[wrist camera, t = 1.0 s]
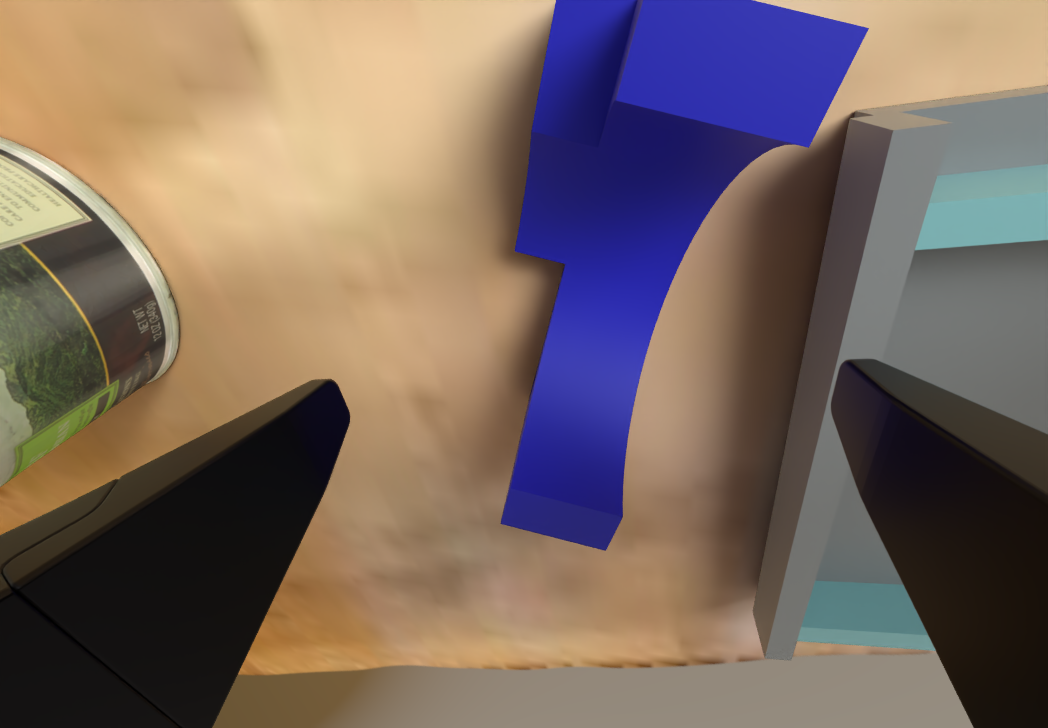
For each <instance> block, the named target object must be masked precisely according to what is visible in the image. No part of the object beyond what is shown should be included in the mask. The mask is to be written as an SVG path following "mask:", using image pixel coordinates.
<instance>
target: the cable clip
mask: <svg viewBox="0 0 1048 728" xmlns="http://www.w3.org/2000/svg"><path fill="white" fill-rule="evenodd" d="M868 29H869V28H865V27H861V26H857V25H853V24H849V23H845V22H840V21H836V20H832V19H828V18H824V17H820V16H815V15H811V14H807V13H803V12H799V11H795V10H790V9H786V8H782V7H778V6H774V5H770V4H766V3H761V2H757V1H753V0H556V4H555V9H554V14H553V20H552V25H551V30H550V36H549V41H548V46H547V51H546V57H545V62H544V67H543V73H542V78H541V83H540V89H539V94H538V99H537V104H536V110H535V115H534V120H533V126H532V131H531V144H530V155H529V164H528V172H527V180H526V187H525V194H524V201H523V207H522V213H521V219H520V225H519V230H518V236H517V241H516V246H515V252H519V253H523V254H527V255H531V256H535V257H539V258H543V259H547V260H551V261H555V262H559V263H563V264H565V265H564V269H563V273H562V276H561V280H560V284H559V288H558V292H557V295H556V299H555V303H554V307H553V311H552V314H551V318H550V322H549V326H548V330H547V333H546V337H545V341H544V345H543V348H542V352H541V356H540V360H539V364H538V367H537V371H536V375H535V379H534V383H533V386H532V390H531V394H530V398H529V402H528V406H527V411H526V415H525V419H524V424H523V428H522V432H521V437H520V441H519V446H518V450H517V454H516V459H515V463H514V467H513V472H512V476H511V480H510V485H509V489H508V493H507V498H506V502H505V506H504V511H503V515H502V519H501V524H504V525H507V526H511V527H515V528H519V529H523V530H527V531H531V532H535V533H539V534H542V535H546V536H550V537H554V538H558V539H562V540H566V541H570V542H574V543H578V544H581V545H585V546H589V547H593V548H597V549H601V550H605V551H606V549H607V547H608V545H609V543H610V541H611V539H612V537H613V535H614V533H615V531H616V529H617V527H618V525H619V523H620V521H621V519H622V517H623V479H624V466H625V456H626V448H627V440H628V434H629V427H630V421H631V416H632V411H633V405H634V401H635V396H636V391H637V387H638V383H639V379H640V375H641V371H642V367H643V363H644V360H645V356H646V353H647V349H648V346H649V343H650V340H651V336H652V333H653V330H654V327H655V324H656V321H657V319H658V316H659V313H660V310H661V308H662V305H663V302H664V300H665V297H666V295H667V292H668V290H669V287H670V285H671V283H672V280H673V278H674V276H675V274H676V271H677V269H678V267H679V265H680V263H681V261H682V259H683V257H684V254H685V252H686V250H687V249H688V247H689V245H690V243H691V241H692V239H693V237H694V235H695V234H696V232H697V230H698V229H699V227H700V225H701V223H702V222H703V220H704V219H705V217H706V215H707V214H708V212H709V211H710V209H711V208H712V206H713V205H714V204H715V202H716V201H717V199H718V198H719V196H720V195H721V194H722V193H723V191H724V190H725V189H726V188H727V186H728V185H729V184H730V183H731V182H732V181H733V180H734V178H735V177H736V176H737V175H738V174H739V173H740V172H741V171H742V170H743V169H744V168H745V167H747V166H748V165H749V164H750V163H751V162H752V161H754V160H755V159H756V158H758V157H759V156H761V155H762V154H764V153H766V152H768V151H769V150H771V149H773V148H776V147H780V146H783V145H792V144H796V145H800V146H804V147H808V148H809V146H810V144H811V142H812V140H813V138H814V136H815V134H816V132H817V130H818V128H819V126H820V124H821V122H822V120H823V118H824V116H825V114H826V112H827V110H828V108H829V106H830V104H831V102H832V100H833V98H834V96H835V94H836V92H837V90H838V88H839V86H840V84H841V83H842V81H843V79H844V77H845V75H846V73H847V71H848V69H849V67H850V65H851V63H852V61H853V59H854V57H855V55H856V53H857V51H858V49H859V47H860V45H861V43H862V41H863V39H864V37H865V35H866V33H867V31H868Z"/></svg>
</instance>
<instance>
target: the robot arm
mask: <svg viewBox="0 0 1048 728" xmlns="http://www.w3.org/2000/svg"><path fill="white" fill-rule="evenodd" d="M831 414H832V417H833V420H834V423H835V426H836V429H837V432H838V435H839V438H840V441H841V444H842V446H843V449H844V452H845V455H846V458H847V461H848V464H849V467H850V470H851V473H852V475H853V478H854V481H855V484H856V487H857V489H858V492H859V495H860V497H861V499H862V501H863V504H864V506H865V508H866V510H867V512H868V514H869V516H870V518H871V520H872V522H873V524H874V526H875V528H876V530H877V533H878V535H879V537H880V539H881V541H882V543H883V545H884V547H885V549H886V551H887V553H888V555H889V557H890V559H891V561H892V563H893V565H894V567H895V569H896V571H897V573H898V575H899V577H900V579H901V581H902V583H903V585H904V587H905V589H906V591H907V593H908V595H909V597H910V599H911V601H912V604H913V606H914V608H915V610H916V612H917V614H918V616H919V618H920V620H921V622H922V624H923V626H924V628H925V630H926V632H927V634H928V636H929V638H930V640H931V642H932V644H933V646H934V648H935V650H936V652H937V654H938V656H939V658H940V660H941V662H942V664H943V666H944V668H945V670H946V672H947V674H948V676H949V679H950V681H951V683H952V685H953V687H954V689H955V691H956V693H957V695H958V697H959V699H960V701H961V703H962V705H963V707H964V709H965V711H966V713H967V715H968V717H969V719H970V721H971V723H972V725H973V727H974V728H1048V434H1046V433H1044V432H1042V431H1039V430H1037V429H1035V428H1032V427H1030V426H1028V425H1026V424H1023V423H1021V422H1019V421H1016V420H1014V419H1012V418H1009V417H1007V416H1005V415H1003V414H1000V413H998V412H996V411H993V410H991V409H989V408H986V407H984V406H982V405H980V404H977V403H975V402H973V401H970V400H968V399H966V398H963V397H961V396H959V395H957V394H954V393H952V392H950V391H947V390H945V389H943V388H940V387H938V386H936V385H934V384H931V383H929V382H927V381H924V380H922V379H920V378H917V377H915V376H913V375H911V374H908V373H906V372H904V371H901V370H899V369H897V368H894V367H892V366H890V365H888V364H885V363H883V362H881V361H878V360H876V359H848V360H845V361H844V362H842V364H841V365H840V368H839V371H838V375H837V379H836V383H835V387H834V391H833V395H832V399H831ZM349 423H350V412H349V409H348V407H347V405H346V402H345V400H344V398H343V396H342V393H341V391H340V389H339V386H338V384H337V383H336V382H335V381H334V380H332V379H318V380H312V381H309V382H307V383H305V384H303V385H301V386H299V387H297V388H295V389H293V390H291V391H289V392H287V393H285V394H283V395H282V396H280V397H278V398H276V399H274V400H272V401H270V402H268V403H266V404H264V405H262V406H260V407H258V408H256V409H254V410H252V411H250V412H248V413H246V414H244V415H242V416H240V417H238V418H236V419H234V420H232V421H230V422H228V423H226V424H224V425H222V426H220V427H218V428H216V429H214V430H212V431H210V432H208V433H206V434H204V435H202V436H200V437H198V438H196V439H194V440H192V441H190V442H188V443H186V444H184V445H183V446H181V447H179V448H177V449H175V450H173V451H171V452H169V453H167V454H165V455H163V456H161V457H159V458H157V459H155V460H153V461H151V462H149V463H147V464H145V465H143V466H141V467H139V468H137V469H135V470H133V471H131V472H129V473H127V474H125V475H123V476H122V477H121V478H120V479H115V480H113V481H111V482H109V483H107V484H105V485H103V486H101V487H99V488H97V489H95V490H93V491H91V492H89V493H87V494H85V495H83V496H81V497H79V498H77V499H75V500H73V501H71V502H69V503H67V504H65V505H63V506H61V507H59V508H57V509H55V510H53V511H51V512H48V513H46V514H44V515H42V516H40V517H38V518H36V519H34V520H32V521H29V522H27V523H25V524H23V525H21V526H19V527H17V528H15V529H13V530H10V531H8V532H6V533H4V534H2V535H0V728H212V727H213V725H214V723H215V721H216V719H217V716H218V715H219V713H220V710H221V708H222V706H223V704H224V702H225V700H226V698H227V696H228V694H229V692H230V690H231V687H232V685H233V683H234V681H235V679H236V677H237V675H238V673H239V671H240V669H241V666H242V664H243V662H244V660H245V658H246V656H247V654H248V652H249V650H250V648H251V646H252V643H253V641H254V639H255V637H256V635H257V633H258V631H259V629H260V627H261V625H262V623H263V620H264V618H265V616H266V614H267V612H268V610H269V608H270V606H271V604H272V602H273V599H274V597H275V595H276V593H277V591H278V589H279V587H280V585H281V583H282V581H283V579H284V576H285V574H286V572H287V570H288V568H289V566H290V564H291V562H292V560H293V558H294V556H295V553H296V551H297V549H298V547H299V545H300V543H301V541H302V539H303V537H304V535H305V532H306V530H307V528H308V526H309V524H310V522H311V520H312V518H313V516H314V514H315V512H316V509H317V507H318V505H319V503H320V501H321V499H322V497H323V494H324V492H325V490H326V487H327V485H328V482H329V480H330V477H331V474H332V471H333V469H334V466H335V463H336V460H337V457H338V455H339V452H340V449H341V446H342V443H343V441H344V438H345V435H346V432H347V429H348V427H349Z"/></svg>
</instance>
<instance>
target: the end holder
mask: <svg viewBox="0 0 1048 728" xmlns="http://www.w3.org/2000/svg"><path fill="white" fill-rule="evenodd" d="M848 359H876V360H878V361H881V362H883V363H885V364H888V365H890V366H892V367H894V368H897V369H899V370H901V371H904V372H906V373H908V374H911V375H913V376H915V377H917V378H920V379H922V380H924V381H927V382H929V383H931V384H934V385H936V386H938V387H940V388H943V389H945V390H947V391H950V392H952V393H954V394H957V395H959V396H961V397H963V398H966V399H968V400H970V401H973V402H975V403H977V404H980V405H982V406H984V407H986V408H989V409H991V410H993V411H996V412H998V413H1000V414H1003V415H1005V416H1007V417H1009V418H1012V419H1014V420H1016V421H1019V422H1021V423H1023V424H1026V425H1028V426H1030V427H1032V428H1035V429H1037V430H1039V431H1042V432H1044V433H1046V434H1048V85H1045V86H1038V87H1030V88H1023V89H1015V90H1008V91H1000V92H993V93H985V94H978V95H970V96H963V97H955V98H948V99H940V100H933V101H925V102H918V103H910V104H903V105H895V106H887V107H880V108H872V109H865V110H857V111H855V115H854V118H850V119H849V124H848V130H847V135H846V140H845V145H844V150H843V155H842V160H841V165H840V170H839V175H838V180H837V185H836V191H835V196H834V201H833V206H832V211H831V216H830V221H829V226H828V231H827V236H826V241H825V246H824V252H823V257H822V262H821V267H820V272H819V277H818V282H817V287H816V292H815V297H814V302H813V307H812V313H811V318H810V323H809V328H808V333H807V338H806V343H805V348H804V353H803V358H802V363H801V368H800V373H799V379H798V384H797V389H796V394H795V399H794V404H793V409H792V414H791V419H790V424H789V429H788V434H787V440H786V445H785V450H784V455H783V460H782V465H781V470H780V475H779V480H778V485H777V490H776V495H775V501H774V506H773V511H772V516H771V521H770V526H769V531H768V536H767V541H766V546H765V551H764V556H763V561H762V567H761V572H760V577H759V582H758V587H757V592H756V597H755V602H754V607H753V615H754V618H755V622H756V626H757V630H758V634H759V638H760V642H761V645H762V649H763V653H764V657H765V658H767V659H780V660H791V659H792V656H793V652H794V649H795V646H796V642H797V641H804V642H818V643H832V644H847V645H861V646H876V647H890V648H904V649H919V650H933V651H936V650H935V648H934V646H933V644H932V642H931V640H930V638H929V636H928V634H927V632H926V630H925V628H924V626H923V624H922V622H921V620H920V618H919V616H918V614H917V612H916V610H915V608H914V606H913V604H912V601H911V599H910V597H909V595H908V593H907V591H906V589H905V587H904V585H903V583H902V581H901V579H900V577H899V575H898V573H897V571H896V569H895V567H894V565H893V563H892V561H891V559H890V557H889V555H888V553H887V551H886V549H885V547H884V545H883V543H882V541H881V539H880V537H879V535H878V533H877V530H876V528H875V526H874V524H873V522H872V520H871V518H870V516H869V514H868V512H867V510H866V508H865V506H864V504H863V501H862V499H861V497H860V495H859V492H858V489H857V487H856V484H855V481H854V478H853V475H852V473H851V470H850V467H849V464H848V461H847V458H846V455H845V452H844V449H843V446H842V444H841V441H840V438H839V435H838V432H837V429H836V426H835V423H834V420H833V417H832V414H831V399H832V395H833V391H834V387H835V383H836V379H837V375H838V371H839V368H840V365H841V364H842V362H844V361H845V360H848Z"/></svg>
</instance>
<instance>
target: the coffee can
mask: <svg viewBox="0 0 1048 728" xmlns="http://www.w3.org/2000/svg"><path fill="white" fill-rule="evenodd" d="M179 337H180V331H179V320H178V313H177V309H176V306H175V302H174V299H173V296H172V294H171V292H170V289H169V287H168V284H167V282H166V280H165V278H164V275H163V273H162V271H161V269H160V267H159V265H158V264H157V262H156V261H155V259H154V257H153V256H152V255H151V253H150V252H149V250H148V249H147V247H146V246H145V245H144V243H143V242H142V240H141V239H140V238H139V236H138V235H137V234H136V233H135V232H134V230H133V229H132V228H131V227H130V226H129V224H128V223H127V222H126V221H125V220H124V219H123V218H122V217H121V216H120V214H119V213H118V212H117V211H116V210H115V209H114V208H113V207H112V206H111V205H110V204H108V203H107V202H106V200H105V199H104V198H103V197H101V196H100V195H99V194H97V193H96V192H95V191H94V190H92V189H91V188H90V187H89V186H88V185H86V184H85V183H84V182H83V181H82V180H80V179H79V178H77V177H76V176H75V175H73V174H72V173H71V172H69V171H68V170H66V169H65V168H63V167H62V166H60V165H59V164H57V163H55V162H53V161H52V160H50V159H48V158H46V157H45V156H43V155H41V154H39V153H37V152H35V151H33V150H31V149H29V148H27V147H24V146H22V145H20V144H18V143H15V142H13V141H10V140H7V139H4V138H1V137H0V487H1V486H2V485H4V484H5V483H7V482H8V481H9V480H11V479H12V478H13V477H15V476H16V475H18V474H19V473H20V472H22V471H23V470H25V469H26V468H28V467H29V466H30V465H32V464H33V463H35V462H36V461H37V460H39V459H40V458H42V457H43V456H44V455H46V454H47V453H49V452H50V451H52V450H53V449H55V448H56V447H57V446H59V445H60V444H61V443H63V442H64V441H66V440H67V439H69V438H70V437H71V436H73V435H74V434H76V433H77V432H79V431H80V430H81V429H83V428H84V427H85V426H87V425H88V424H90V423H91V422H92V421H94V420H95V419H97V418H98V417H100V416H101V415H103V414H104V413H105V412H107V411H108V410H109V409H111V408H112V407H114V406H115V405H117V404H118V403H120V402H121V401H122V400H124V399H125V398H126V397H128V396H129V395H131V394H132V393H133V392H135V391H136V390H138V389H139V388H140V387H142V386H144V385H145V384H148V383H150V382H152V381H154V380H156V379H158V378H159V377H160V376H161V375H162V374H164V373H165V372H166V370H167V369H168V368H169V367H170V365H171V364H172V362H173V360H174V358H175V356H176V353H177V350H178V344H179Z"/></svg>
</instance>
